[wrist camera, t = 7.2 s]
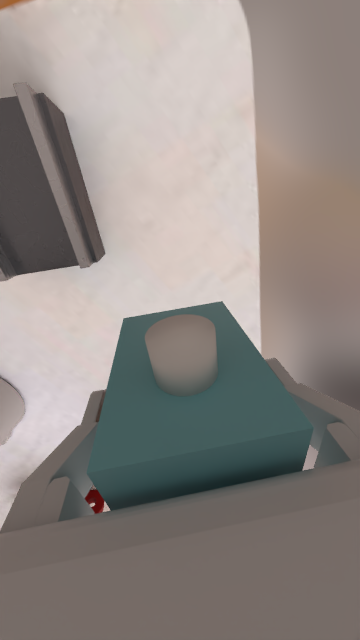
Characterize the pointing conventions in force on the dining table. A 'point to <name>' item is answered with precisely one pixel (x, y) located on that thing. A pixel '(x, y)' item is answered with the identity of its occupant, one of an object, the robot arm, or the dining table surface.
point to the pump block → (191, 411)
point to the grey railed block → (41, 190)
